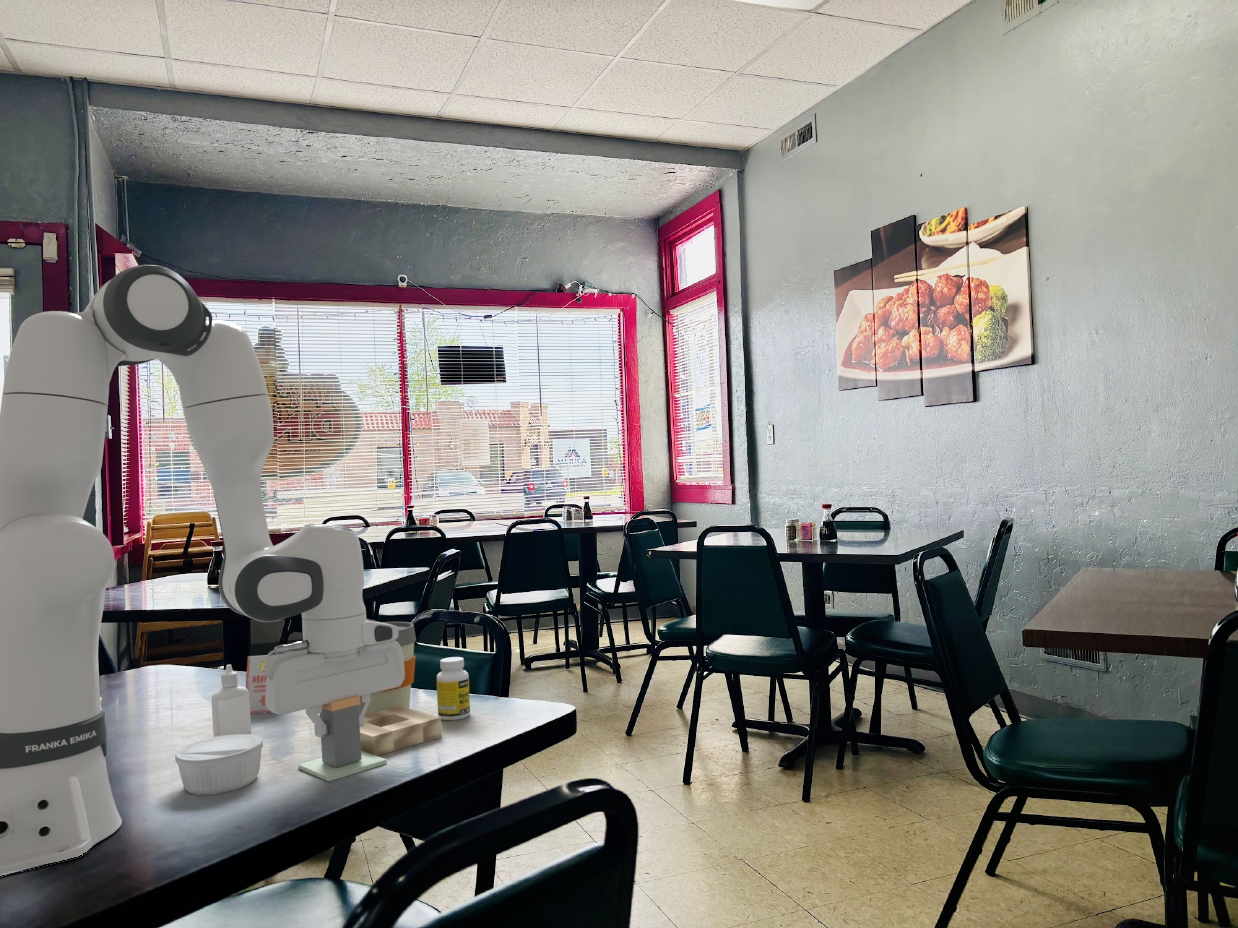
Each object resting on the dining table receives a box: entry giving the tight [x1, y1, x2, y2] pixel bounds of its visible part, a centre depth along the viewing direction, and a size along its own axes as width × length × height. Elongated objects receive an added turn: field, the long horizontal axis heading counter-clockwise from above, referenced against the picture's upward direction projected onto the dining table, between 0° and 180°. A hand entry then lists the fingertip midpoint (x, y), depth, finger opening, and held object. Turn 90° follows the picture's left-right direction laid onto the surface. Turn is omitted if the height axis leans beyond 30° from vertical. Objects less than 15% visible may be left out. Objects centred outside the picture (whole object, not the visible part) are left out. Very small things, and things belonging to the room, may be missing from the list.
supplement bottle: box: [436, 656, 471, 721], centre depth 152 cm, size 5×5×10 cm
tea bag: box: [245, 654, 272, 715], centre depth 164 cm, size 4×7×10 cm, turn 93°
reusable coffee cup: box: [364, 621, 417, 715], centre depth 157 cm, size 13×13×15 cm
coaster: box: [297, 750, 388, 782], centre depth 129 cm, size 9×9×1 cm
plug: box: [319, 696, 362, 767], centre depth 129 cm, size 4×4×9 cm
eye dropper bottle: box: [211, 664, 252, 737], centre depth 147 cm, size 4×6×12 cm
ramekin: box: [174, 734, 264, 795], centre depth 125 cm, size 11×11×5 cm
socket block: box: [360, 706, 443, 757], centre depth 141 cm, size 12×12×3 cm
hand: (340, 730), depth 129 cm, fingers closed on plug, 4 cm apart
